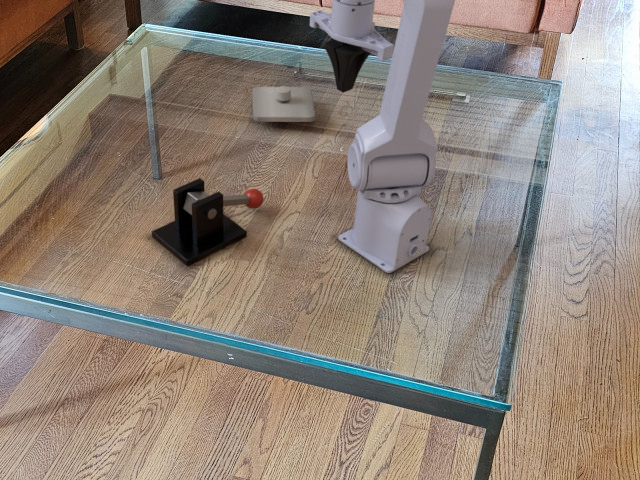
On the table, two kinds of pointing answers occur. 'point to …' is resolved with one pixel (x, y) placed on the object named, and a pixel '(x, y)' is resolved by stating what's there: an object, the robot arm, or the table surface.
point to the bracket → (198, 226)
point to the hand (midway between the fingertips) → (344, 89)
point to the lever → (228, 199)
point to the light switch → (283, 104)
